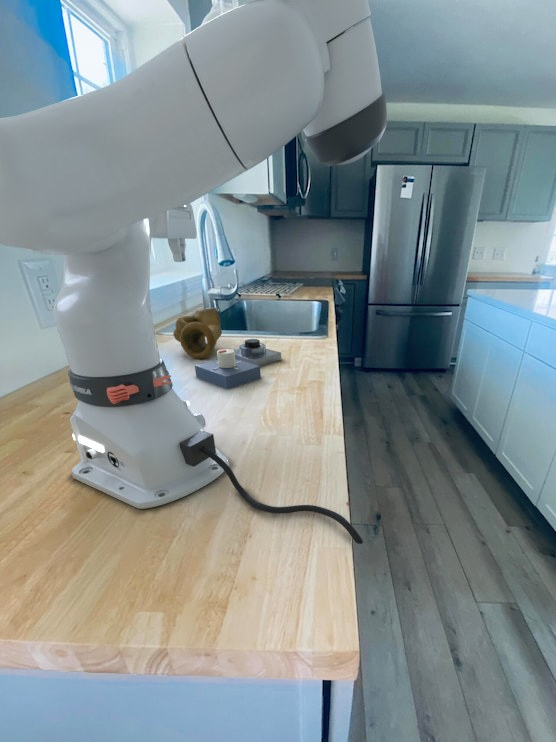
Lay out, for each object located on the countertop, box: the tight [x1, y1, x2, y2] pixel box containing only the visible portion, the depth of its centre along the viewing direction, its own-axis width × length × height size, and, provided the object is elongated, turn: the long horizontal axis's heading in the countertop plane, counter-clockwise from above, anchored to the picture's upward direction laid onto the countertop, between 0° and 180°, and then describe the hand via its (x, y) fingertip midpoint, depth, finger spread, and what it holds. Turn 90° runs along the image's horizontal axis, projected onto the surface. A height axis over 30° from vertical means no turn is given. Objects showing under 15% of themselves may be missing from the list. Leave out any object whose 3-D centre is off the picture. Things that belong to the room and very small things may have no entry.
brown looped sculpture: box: [172, 307, 223, 360], centre depth 109 cm, size 18×13×22 cm
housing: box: [233, 342, 282, 367], centre depth 101 cm, size 12×10×4 cm
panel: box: [194, 359, 262, 390], centre depth 88 cm, size 12×10×3 cm
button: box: [244, 338, 261, 348], centre depth 100 cm, size 4×4×2 cm
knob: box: [216, 348, 236, 368], centre depth 86 cm, size 4×4×4 cm
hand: (180, 261), depth 83 cm, fingers closed
